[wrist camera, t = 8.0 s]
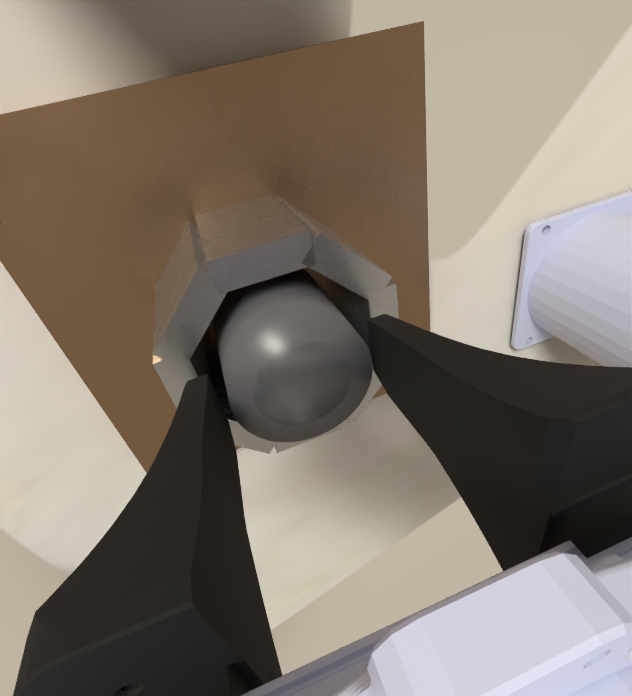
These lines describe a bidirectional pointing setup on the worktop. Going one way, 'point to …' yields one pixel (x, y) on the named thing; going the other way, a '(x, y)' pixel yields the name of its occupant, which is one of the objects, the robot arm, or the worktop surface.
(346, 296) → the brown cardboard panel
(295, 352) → the grey short cylinder
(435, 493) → the worktop surface
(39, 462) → the worktop surface
